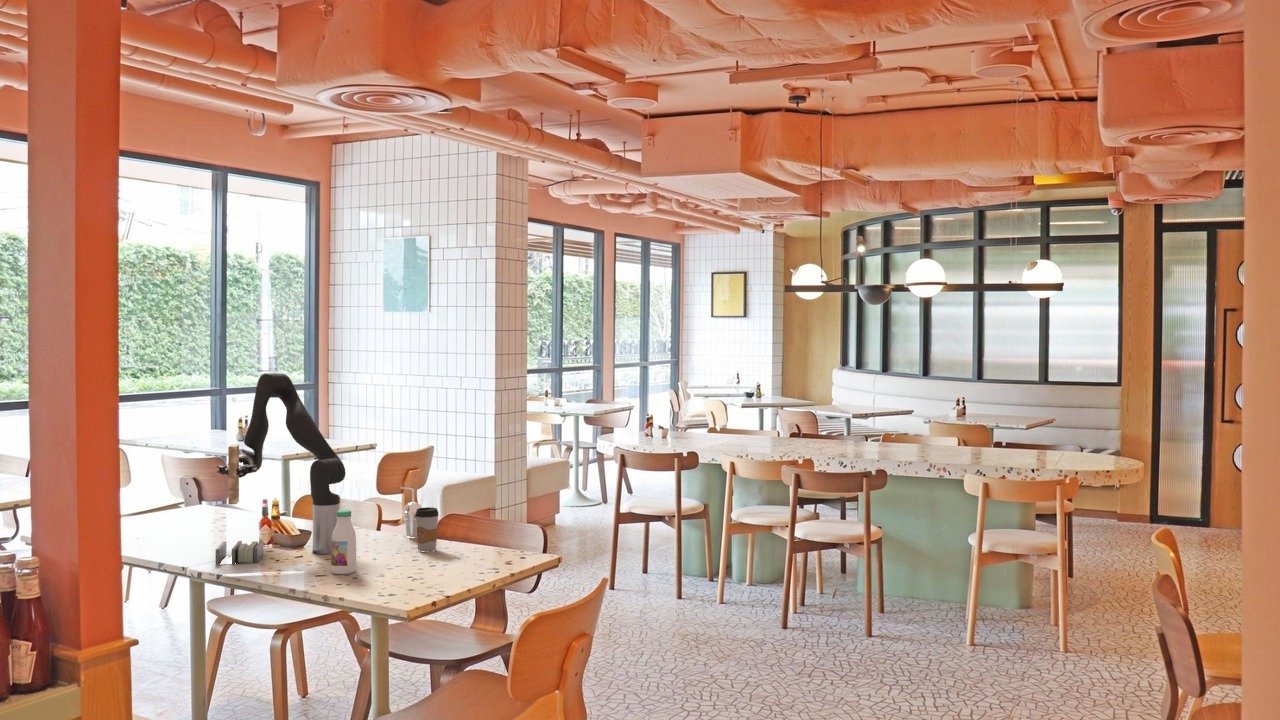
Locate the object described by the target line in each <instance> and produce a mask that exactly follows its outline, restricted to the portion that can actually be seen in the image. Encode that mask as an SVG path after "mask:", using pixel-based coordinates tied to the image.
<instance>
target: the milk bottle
mask: <svg viewBox="0 0 1280 720" xmlns="http://www.w3.org/2000/svg"><path fill="white" fill-rule="evenodd" d="M351 519H352V511H351V510H349V509H345V510H344V509H340V511H337V524H336V527H335V529H334V531H333V534H332V548H331V555H330V556H331V557H330V559H331V560H330V561H331V562H330V568H331V574H334V575H349V574H354V573H356V571H357V535H356V531H355V528H354V526H353V524H352V521H351Z"/></svg>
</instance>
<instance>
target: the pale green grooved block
mask: <svg viewBox="0 0 1280 720" xmlns="http://www.w3.org/2000/svg"><path fill="white" fill-rule="evenodd" d="M258 543H259V542H258V541H257V540H256V541H251V543H250V544H248V543H242V545H241V546H240V547H239V549H238V562H254V548H255V547H256V545H257V544H258Z"/></svg>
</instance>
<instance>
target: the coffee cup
mask: <svg viewBox="0 0 1280 720" xmlns="http://www.w3.org/2000/svg"><path fill="white" fill-rule="evenodd" d="M439 515H440V514H439V511H438V508H437V507H427V506H426V507H422V508H418V509H417V511H416V514H415V516H416V533H417V539H416V542H417V543H416V544H417V550H418V551H419V550H420V551H433V550H435V551H436V549H437V540H438V538H437V537H438V523H439ZM433 552H434V551H433Z"/></svg>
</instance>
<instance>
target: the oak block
mask: <svg viewBox="0 0 1280 720" xmlns="http://www.w3.org/2000/svg"><path fill="white" fill-rule="evenodd" d="M239 449H240V444H237V443H235V444H230V445H229V446H228V450H227V451H228V452H227V453H228V460H227V461H228V462H227V463H228V464H227V465H228V475H227V477H228V478H227V479H228V480H227V481H228V485H227V486H228V490H227V491H228V493H227V494H228V495H227V496H228V498H227V499H228V500H227V501H228V503H227V504H228V505H229V506H230V505H237V504H238V503H239V502H240V478H239V475H236V470H237V468H239Z"/></svg>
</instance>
